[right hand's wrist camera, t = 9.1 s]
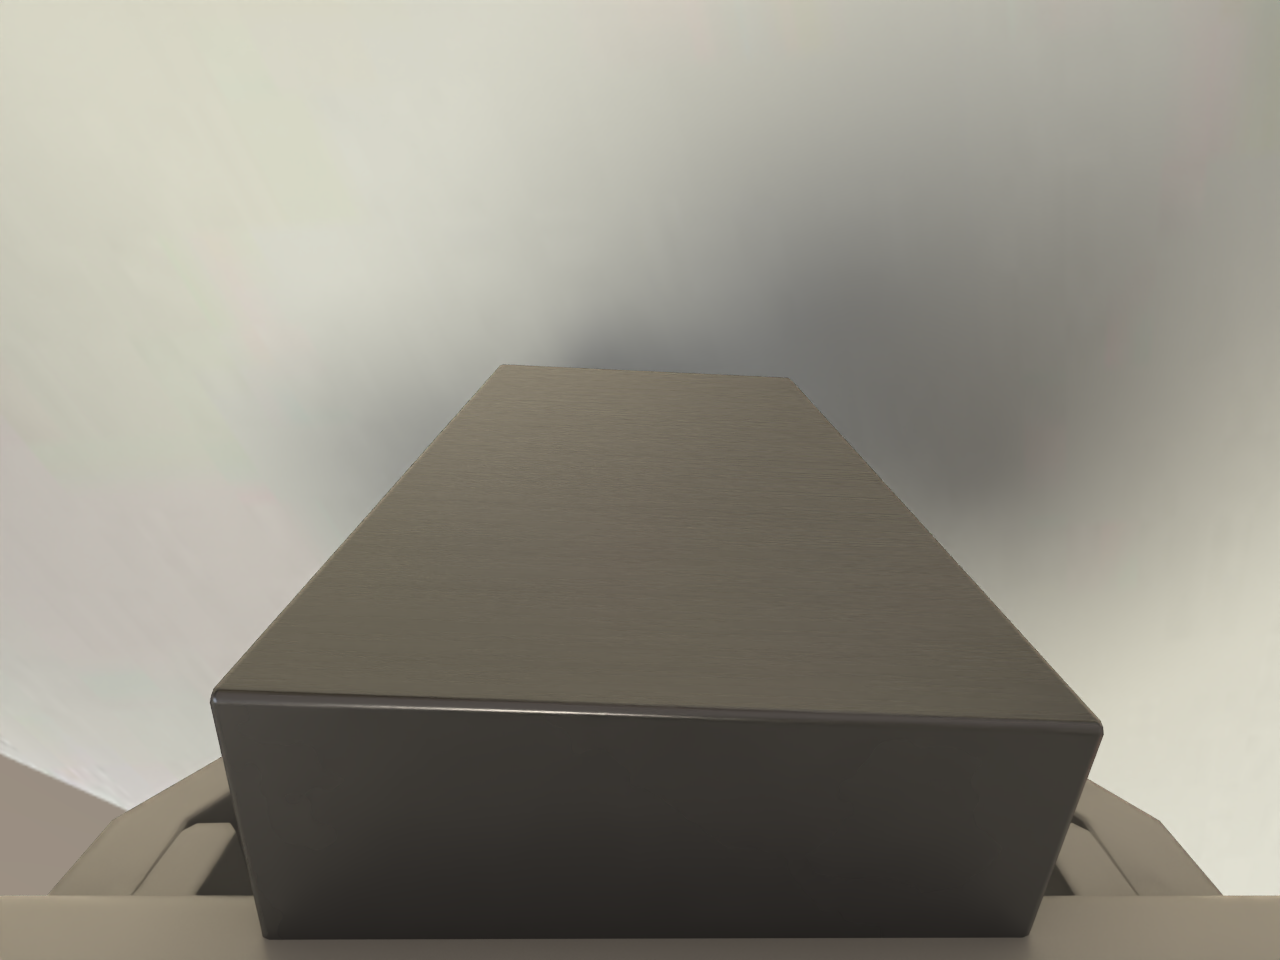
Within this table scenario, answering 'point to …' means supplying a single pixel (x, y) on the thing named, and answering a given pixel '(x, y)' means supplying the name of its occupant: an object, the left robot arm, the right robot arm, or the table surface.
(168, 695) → the table surface
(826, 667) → the box
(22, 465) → the table surface
